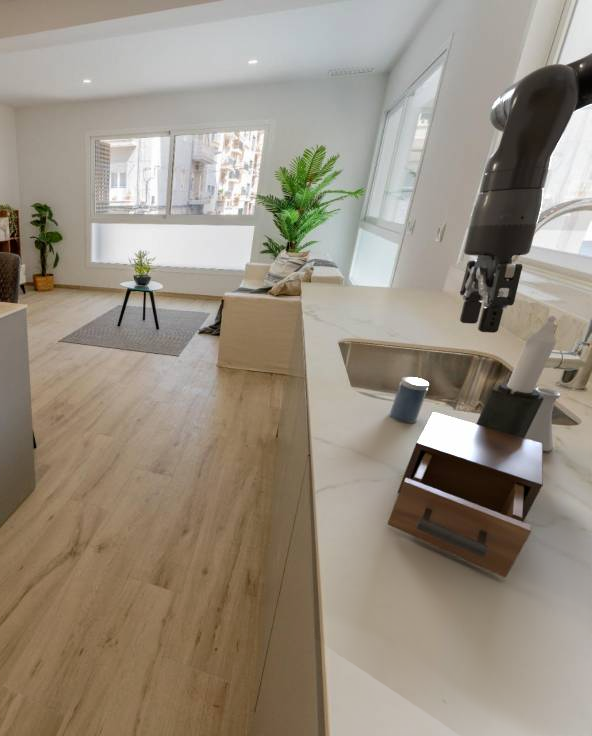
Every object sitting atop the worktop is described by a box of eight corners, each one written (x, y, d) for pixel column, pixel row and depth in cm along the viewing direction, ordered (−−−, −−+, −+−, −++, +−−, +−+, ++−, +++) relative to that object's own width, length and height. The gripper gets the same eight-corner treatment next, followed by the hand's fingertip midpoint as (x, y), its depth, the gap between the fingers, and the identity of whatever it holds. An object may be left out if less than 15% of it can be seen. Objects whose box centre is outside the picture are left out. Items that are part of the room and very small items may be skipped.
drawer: (503, 601, 45) (531, 552, 42) (379, 541, 52) (395, 496, 49) (510, 523, 56) (533, 480, 53) (407, 482, 63) (422, 443, 60)
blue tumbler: (408, 413, 86) (421, 377, 83) (420, 424, 82) (434, 386, 79) (385, 411, 86) (397, 375, 83) (396, 422, 82) (409, 384, 79)
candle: (459, 456, 72) (521, 312, 62) (476, 450, 74) (539, 310, 64) (495, 473, 67) (568, 322, 58) (512, 467, 69) (586, 319, 60)
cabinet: (513, 540, 54) (542, 485, 51) (397, 492, 62) (416, 442, 59) (517, 492, 63) (542, 443, 60) (415, 456, 71) (432, 411, 68)
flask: (495, 426, 82) (516, 379, 78) (547, 439, 78) (572, 390, 74) (500, 442, 76) (524, 392, 72) (557, 457, 72) (584, 405, 69)
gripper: (561, 220, 57) (528, 337, 62) (514, 223, 69) (489, 321, 74) (488, 222, 60) (462, 333, 65) (456, 225, 73) (436, 319, 77)
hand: (477, 327), depth 69 cm, fingers open, 8 cm apart
